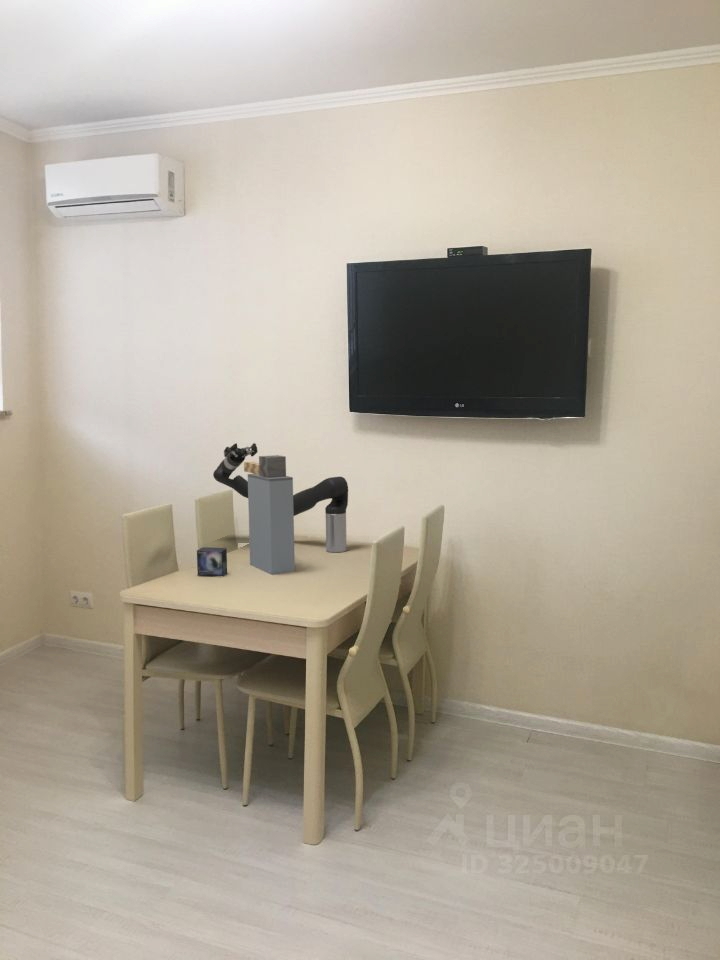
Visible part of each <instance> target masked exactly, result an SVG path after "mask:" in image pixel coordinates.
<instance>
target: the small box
mask: <svg viewBox="0 0 720 960" xmlns="http://www.w3.org/2000/svg"><path fill="white" fill-rule="evenodd" d="M227 549H228V548H227V547H205V546H203V547H201V548H199V549H197V550H196V563H197V564H196V565H197V566H196V567H197V569H196V570H197V576H198V575H204V576H203V577H213V576H223V577H224V576H226V575H227V574H228V557H227V556H228V555H227V553H228V552H227V551H228V550H227Z"/></svg>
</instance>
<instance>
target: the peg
mask: <svg viewBox="0 0 720 960" xmlns="http://www.w3.org/2000/svg"><path fill="white" fill-rule="evenodd" d="M286 459H287V458H286V456H284V455H279V454H274V455H261V456H260V455H259V456H258V462H257V461H243V472H245V473H248V474H258V475H259V476H261V477H266V478H273V477H286V476H287V462H286Z"/></svg>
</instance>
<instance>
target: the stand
mask: <svg viewBox="0 0 720 960" xmlns="http://www.w3.org/2000/svg"><path fill="white" fill-rule="evenodd" d="M293 479H294V478H293V477H292V476H289V475H286V477H273V478H266V477H261V476H259V475H258V474H254V473H247V481H248V498H247V499H248V532H249V536H248V537H249V564H250V566H252V567H255V568H256V569H258V568H259V570H261V571H263V572H265V573H267V574H269V575H273V576H274V575H281V574H286V573H295V572H296V563H295V561H296V560H295V559H296V558H295V557H296V556H295V525H294V524H295V521H294V517H295V516H294V511H293V495H294V480H293Z"/></svg>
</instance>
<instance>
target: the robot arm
mask: <svg viewBox="0 0 720 960" xmlns="http://www.w3.org/2000/svg"><path fill="white" fill-rule="evenodd" d="M256 454H258V447H257V444H256V442H254V443H252V444H251V446H246V447H240V448H239V447H238V444H237V442H236V443H235V442H234V444H232V445H231V446H226V447H225V448H224V450H223V456H224V457H225V458H224V459H223V460H221V462H220V463H219V465H217V467H216V469H215V470H214V471H213V473H212V474H213V478H214V480H216V481H217V483H220V484H222V485H225V486H228V487H229V488H232V489H233V490H234V491H235V492H236V493H238V495H240V496H242V497H244V498H246V499H248V479H245V478H244V477H243V476H241V475H236V476H235V477H234V478H230V476H231V475H232V474H233V472H235V470H236V469H237V468H239V467H240V466H241V465H242V464H243V463H244V462H245V459H246V457H247V456H250V457H254V456H255V455H256ZM329 499H331V501H330V503H329V504H327V505H326V506H325V508H324V509H325V551H326V552H329V553H343V552H346V551H347V549H348V548H347V547H348V545H347V543H348V542H347V508H348V505H349V504H348V503H349V485H348V482H347V479H346V478H345V477H343V476H333V477H328V478H325V479H324V480H322V481H321V482H320V481H319V483H317V484H316V485H314V486H311V487H309V488H306V489H303V490H301V491H299V492H297V493H295V494H293V511H294V517H295V516H298V515H299V514H302V513H305V512H307V511H309V510H311V509H313V508H314V507H315V506H316V505H317V504H318V503H320V502H322V501H326V500H329Z"/></svg>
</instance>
